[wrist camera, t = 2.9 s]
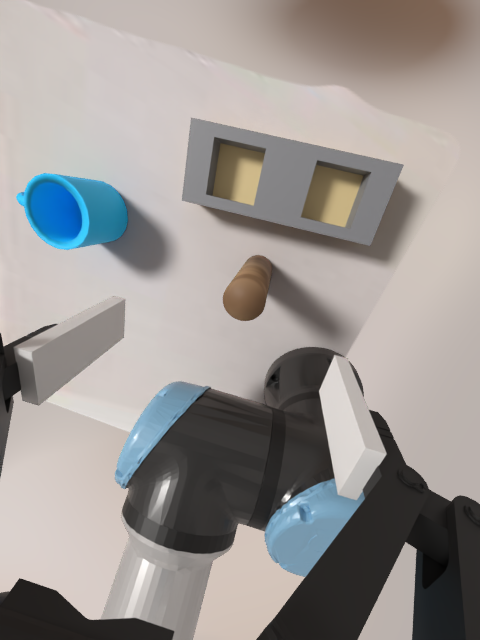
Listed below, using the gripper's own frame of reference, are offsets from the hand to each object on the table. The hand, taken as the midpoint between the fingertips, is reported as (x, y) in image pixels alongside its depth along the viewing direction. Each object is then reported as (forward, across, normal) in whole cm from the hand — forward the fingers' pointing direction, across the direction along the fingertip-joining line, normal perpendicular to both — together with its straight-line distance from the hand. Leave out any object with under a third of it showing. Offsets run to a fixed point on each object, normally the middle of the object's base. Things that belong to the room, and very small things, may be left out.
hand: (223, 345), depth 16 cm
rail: (+23, -1, -10) cm, 25 cm away
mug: (+24, +26, -2) cm, 35 cm away
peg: (+23, 0, 0) cm, 23 cm away
